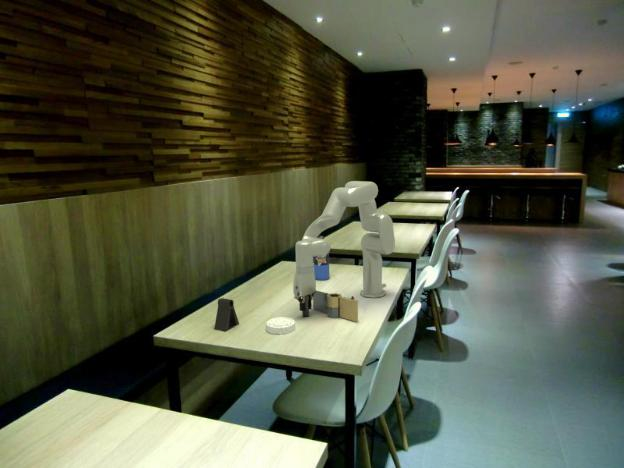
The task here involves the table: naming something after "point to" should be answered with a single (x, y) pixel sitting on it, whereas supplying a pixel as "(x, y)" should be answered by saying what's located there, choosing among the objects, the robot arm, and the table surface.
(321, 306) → the hinge base
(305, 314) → the hinge pin
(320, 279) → the water bottle
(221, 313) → the phone stand
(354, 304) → the hinge leaf
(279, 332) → the mooncake
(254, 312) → the table surface
